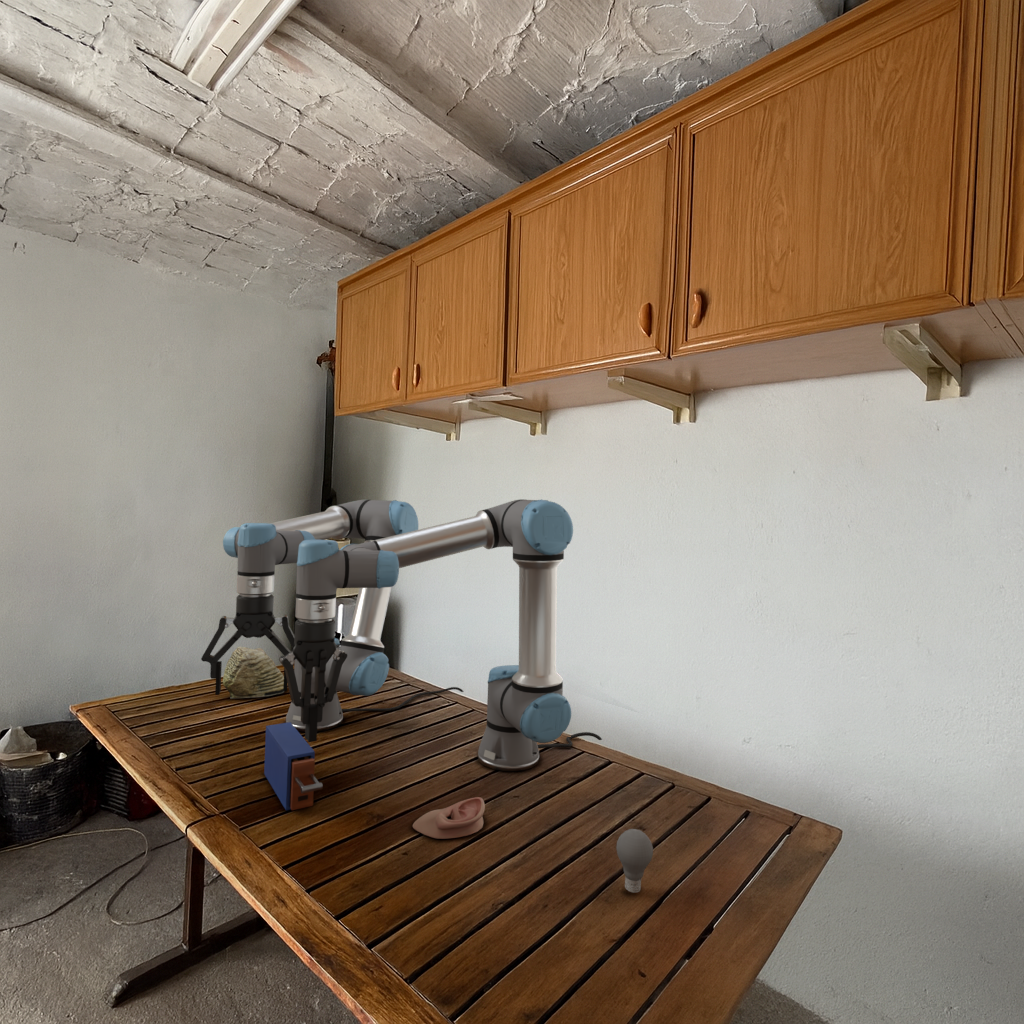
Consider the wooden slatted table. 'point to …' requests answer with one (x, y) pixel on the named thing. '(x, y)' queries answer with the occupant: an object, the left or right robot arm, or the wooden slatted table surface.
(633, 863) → the light bulb
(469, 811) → the anatomical model
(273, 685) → the fossil
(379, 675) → the left robot arm
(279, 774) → the cabinet
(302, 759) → the drawer
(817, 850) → the wooden slatted table surface
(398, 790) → the wooden slatted table surface
